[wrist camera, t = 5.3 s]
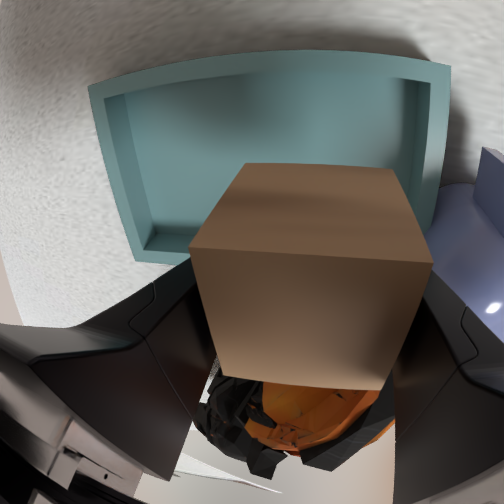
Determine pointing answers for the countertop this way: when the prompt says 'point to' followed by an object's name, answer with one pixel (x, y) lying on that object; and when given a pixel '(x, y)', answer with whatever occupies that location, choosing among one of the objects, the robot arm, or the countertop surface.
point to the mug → (473, 240)
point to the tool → (292, 421)
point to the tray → (262, 131)
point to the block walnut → (311, 274)
